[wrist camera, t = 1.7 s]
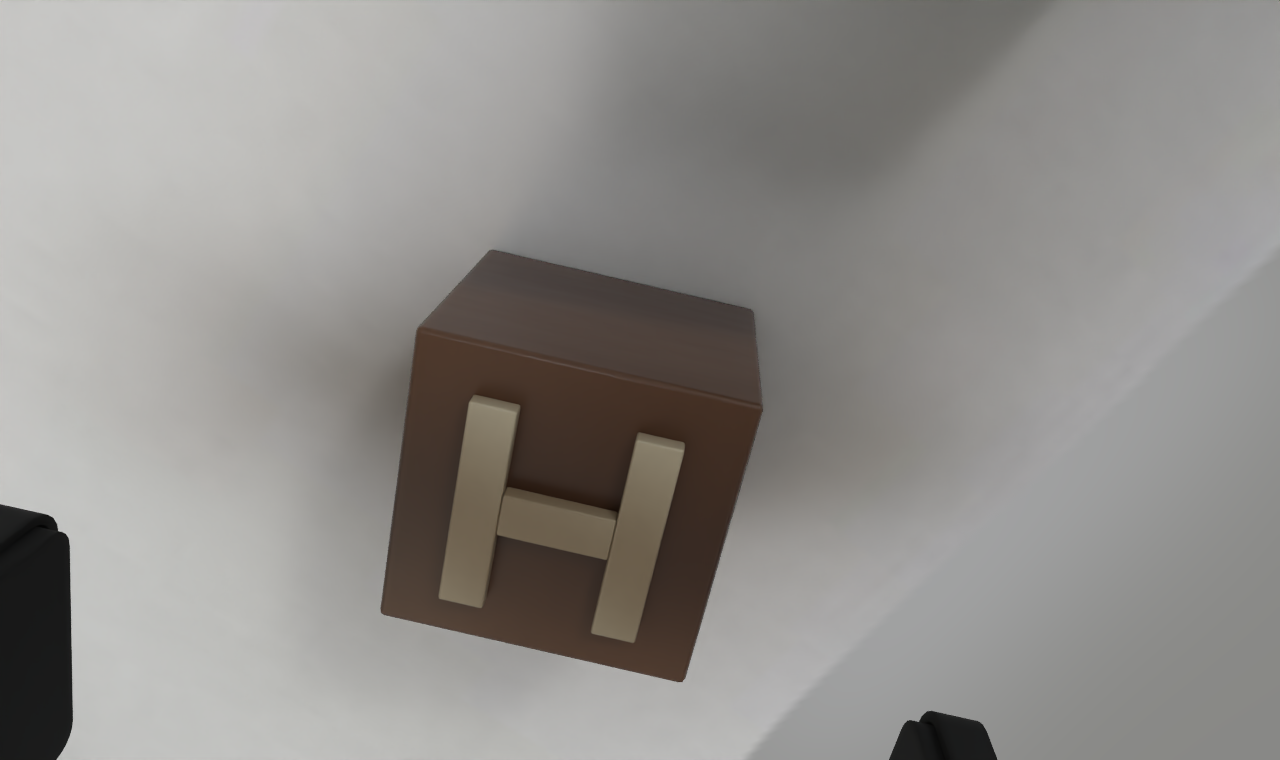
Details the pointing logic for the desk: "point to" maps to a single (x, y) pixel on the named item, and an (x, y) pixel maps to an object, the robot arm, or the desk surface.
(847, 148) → the desk surface
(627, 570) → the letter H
